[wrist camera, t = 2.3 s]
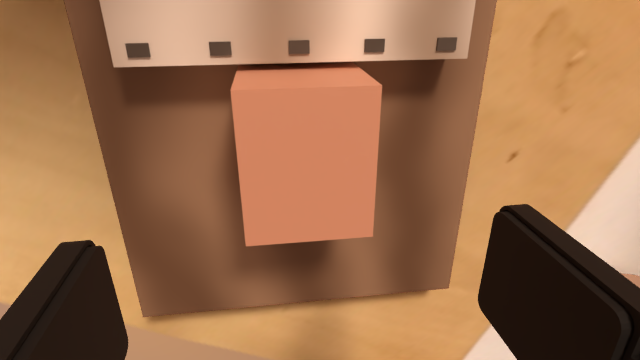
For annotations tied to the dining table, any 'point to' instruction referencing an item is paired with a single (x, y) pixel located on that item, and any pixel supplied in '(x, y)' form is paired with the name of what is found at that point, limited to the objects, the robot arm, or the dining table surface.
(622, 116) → the dining table surface
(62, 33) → the dining table surface
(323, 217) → the salmon upright block
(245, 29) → the wooden base board
